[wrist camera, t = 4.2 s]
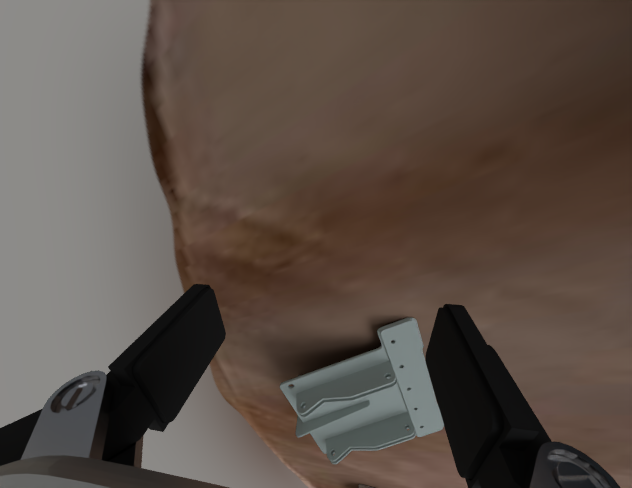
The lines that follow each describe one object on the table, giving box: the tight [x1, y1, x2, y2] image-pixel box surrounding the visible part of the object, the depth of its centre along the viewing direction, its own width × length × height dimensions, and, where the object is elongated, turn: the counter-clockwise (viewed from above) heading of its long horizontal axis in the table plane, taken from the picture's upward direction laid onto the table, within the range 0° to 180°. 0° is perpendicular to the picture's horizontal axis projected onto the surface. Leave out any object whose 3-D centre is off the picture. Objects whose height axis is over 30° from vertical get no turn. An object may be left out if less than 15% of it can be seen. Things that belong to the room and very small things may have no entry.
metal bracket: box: [280, 318, 444, 464], centre depth 22 cm, size 14×6×15 cm
